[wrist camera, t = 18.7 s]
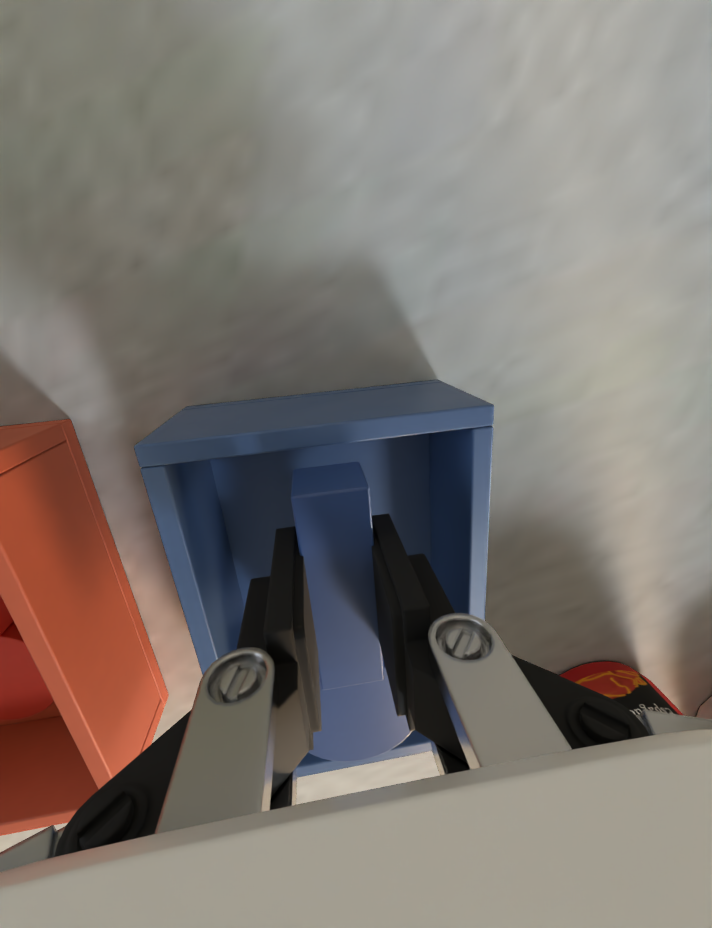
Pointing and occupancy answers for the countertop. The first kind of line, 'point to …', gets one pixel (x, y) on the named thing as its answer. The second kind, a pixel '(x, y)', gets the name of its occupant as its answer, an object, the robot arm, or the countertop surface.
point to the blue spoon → (344, 613)
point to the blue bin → (270, 483)
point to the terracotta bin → (68, 633)
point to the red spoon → (18, 674)
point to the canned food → (622, 686)
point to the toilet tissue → (705, 710)
